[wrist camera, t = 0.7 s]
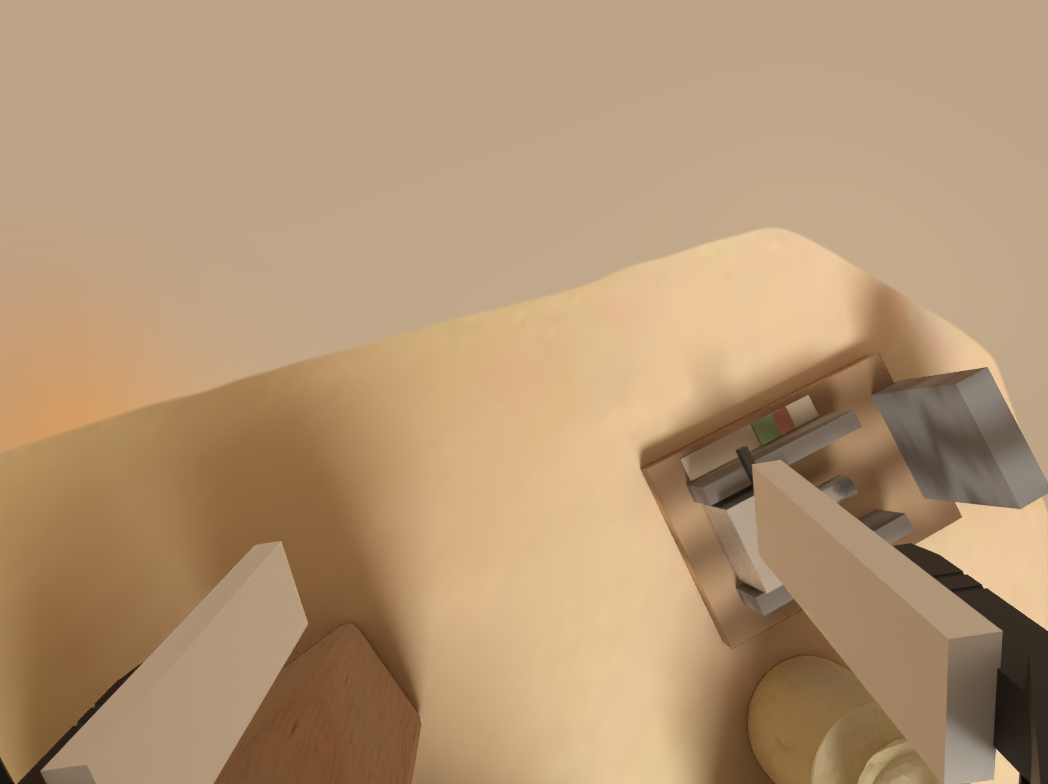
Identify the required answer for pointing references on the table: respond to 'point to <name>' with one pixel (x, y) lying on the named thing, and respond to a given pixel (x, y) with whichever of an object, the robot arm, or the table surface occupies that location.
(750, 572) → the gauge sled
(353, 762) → the block
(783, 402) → the gauge bed
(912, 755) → the sugar bowl
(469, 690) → the table surface
